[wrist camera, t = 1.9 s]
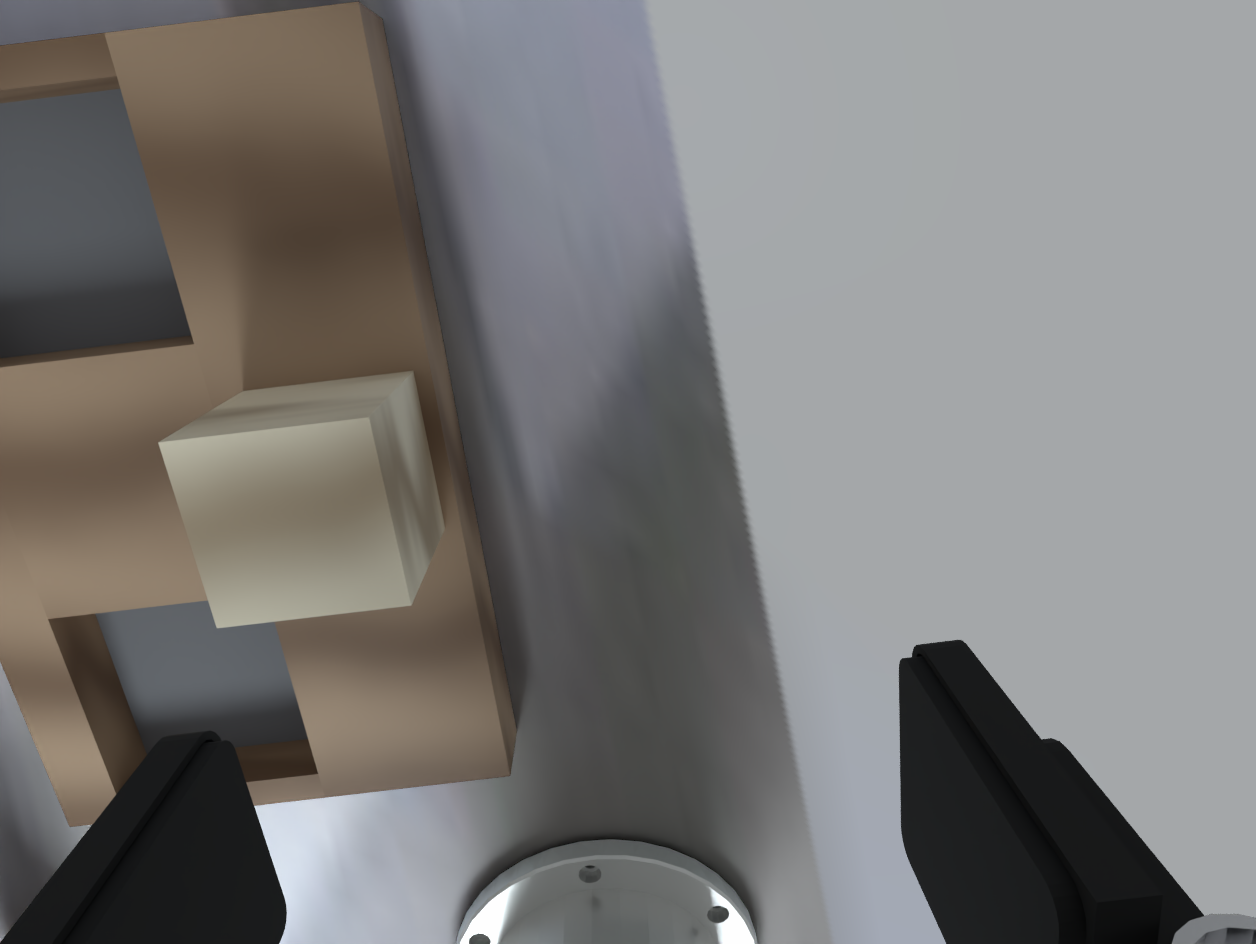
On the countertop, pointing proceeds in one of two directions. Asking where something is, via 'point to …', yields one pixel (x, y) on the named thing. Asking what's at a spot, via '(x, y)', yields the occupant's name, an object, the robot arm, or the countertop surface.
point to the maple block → (308, 499)
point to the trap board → (217, 403)
